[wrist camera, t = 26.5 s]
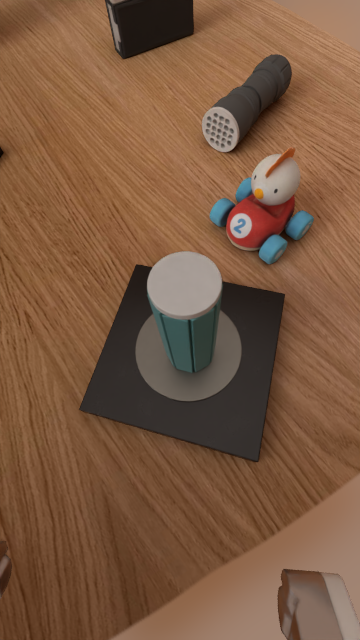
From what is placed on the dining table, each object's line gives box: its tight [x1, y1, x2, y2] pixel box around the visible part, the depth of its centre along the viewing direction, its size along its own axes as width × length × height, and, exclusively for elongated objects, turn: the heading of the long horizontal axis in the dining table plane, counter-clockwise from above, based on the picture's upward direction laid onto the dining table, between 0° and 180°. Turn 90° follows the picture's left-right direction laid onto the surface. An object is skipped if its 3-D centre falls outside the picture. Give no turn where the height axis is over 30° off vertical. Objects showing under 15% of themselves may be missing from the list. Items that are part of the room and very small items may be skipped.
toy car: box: [210, 147, 314, 264], centre depth 32 cm, size 9×9×10 cm
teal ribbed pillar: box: [147, 251, 223, 373], centre depth 24 cm, size 4×4×12 cm
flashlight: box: [202, 55, 292, 152], centre depth 42 cm, size 15×5×5 cm, turn 144°
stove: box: [79, 264, 285, 462], centre depth 30 cm, size 16×16×2 cm
